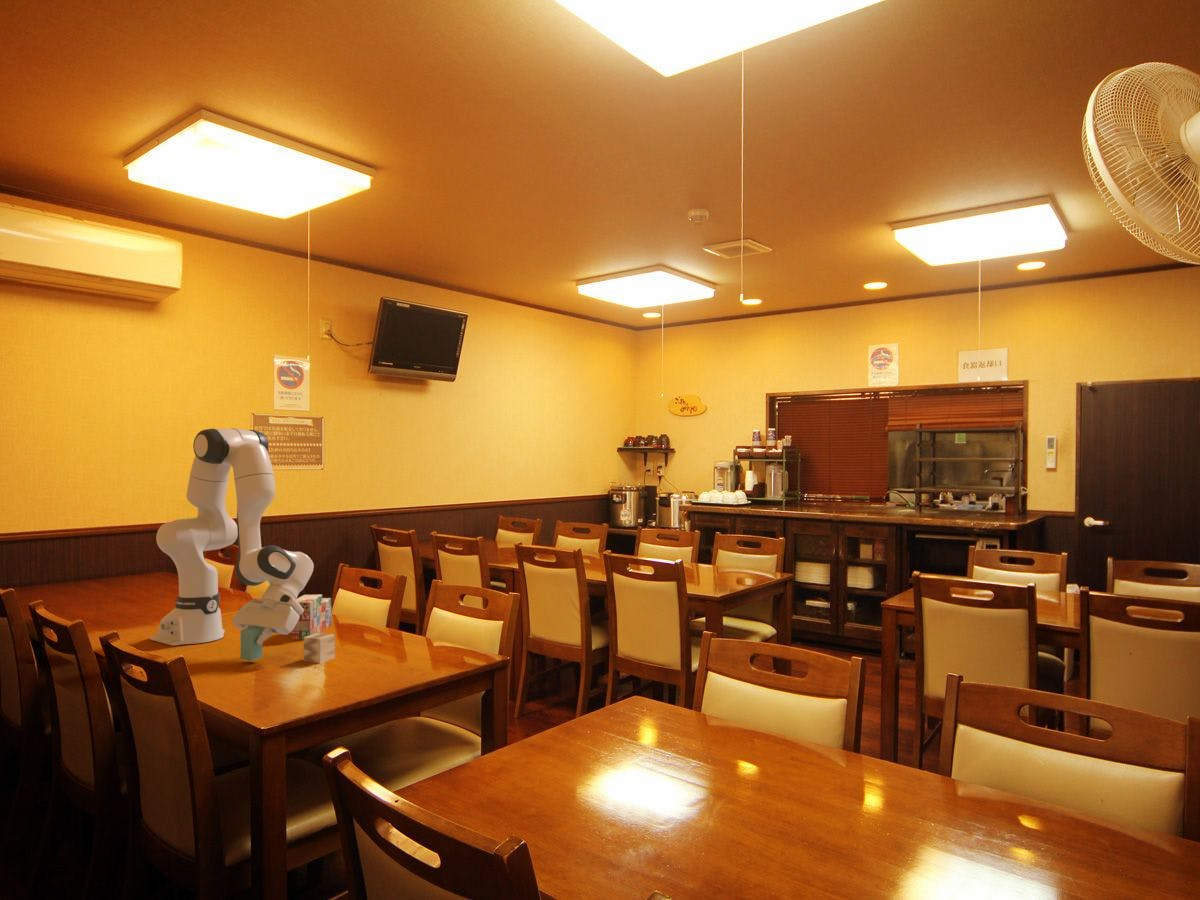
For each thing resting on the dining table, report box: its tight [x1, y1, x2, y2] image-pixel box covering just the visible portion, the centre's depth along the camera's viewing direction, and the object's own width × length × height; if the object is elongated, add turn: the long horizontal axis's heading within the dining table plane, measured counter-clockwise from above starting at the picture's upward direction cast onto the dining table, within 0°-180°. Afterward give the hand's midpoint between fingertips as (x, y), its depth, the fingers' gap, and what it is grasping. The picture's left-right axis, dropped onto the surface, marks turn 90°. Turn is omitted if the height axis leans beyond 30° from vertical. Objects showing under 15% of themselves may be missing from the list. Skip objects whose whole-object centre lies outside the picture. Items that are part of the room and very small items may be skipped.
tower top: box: [303, 632, 336, 652], centre depth 218 cm, size 6×6×4 cm
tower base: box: [303, 646, 336, 664], centre depth 218 cm, size 6×6×4 cm
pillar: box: [240, 628, 264, 661], centre depth 215 cm, size 4×4×8 cm
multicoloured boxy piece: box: [290, 594, 332, 640], centre depth 252 cm, size 21×6×12 cm, turn 2°
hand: (249, 642), depth 214 cm, fingers closed on pillar, 4 cm apart
